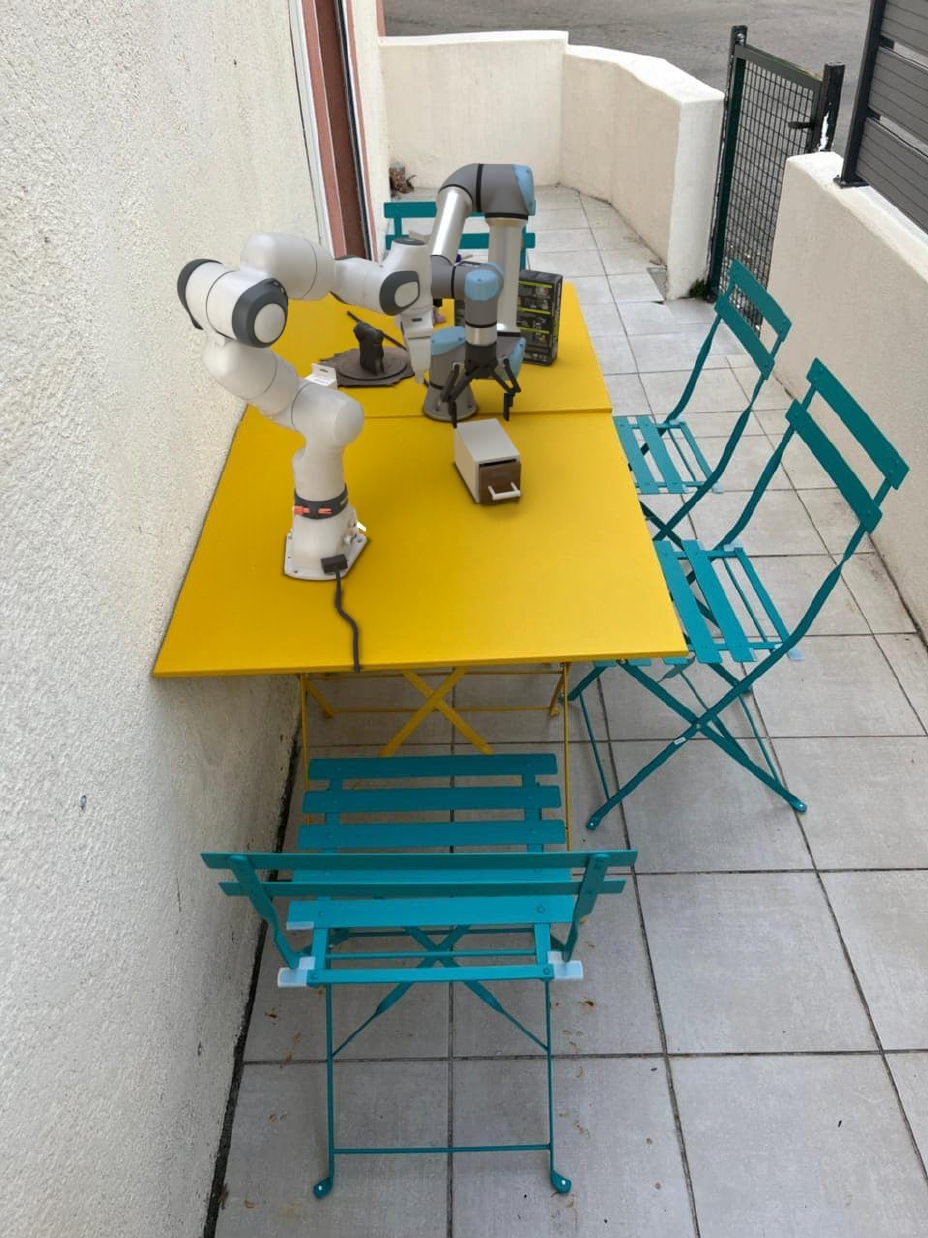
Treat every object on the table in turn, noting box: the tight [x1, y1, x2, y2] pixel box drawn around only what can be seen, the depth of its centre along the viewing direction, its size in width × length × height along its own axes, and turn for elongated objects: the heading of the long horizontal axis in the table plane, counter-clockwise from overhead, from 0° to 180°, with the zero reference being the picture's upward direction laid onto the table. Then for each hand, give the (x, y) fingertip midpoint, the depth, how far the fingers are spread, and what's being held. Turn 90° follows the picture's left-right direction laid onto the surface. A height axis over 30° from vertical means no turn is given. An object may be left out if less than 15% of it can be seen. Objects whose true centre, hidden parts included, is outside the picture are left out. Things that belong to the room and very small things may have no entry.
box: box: [453, 260, 564, 367], centre depth 277 cm, size 34×7×27 cm, turn 68°
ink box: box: [303, 363, 339, 391], centre depth 249 cm, size 9×5×15 cm, turn 62°
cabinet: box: [453, 417, 521, 504], centre depth 223 cm, size 20×11×12 cm, turn 16°
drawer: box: [478, 459, 522, 506], centre depth 219 cm, size 24×10×10 cm, turn 16°
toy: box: [408, 223, 474, 326], centre depth 298 cm, size 35×10×30 cm, turn 130°
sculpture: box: [316, 320, 415, 387], centre depth 273 cm, size 33×35×16 cm
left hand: (416, 373), depth 204 cm, fingers open, 8 cm apart
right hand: (480, 422), depth 222 cm, fingers open, 13 cm apart
